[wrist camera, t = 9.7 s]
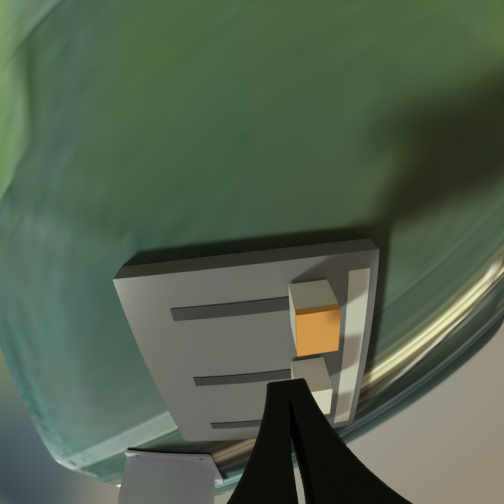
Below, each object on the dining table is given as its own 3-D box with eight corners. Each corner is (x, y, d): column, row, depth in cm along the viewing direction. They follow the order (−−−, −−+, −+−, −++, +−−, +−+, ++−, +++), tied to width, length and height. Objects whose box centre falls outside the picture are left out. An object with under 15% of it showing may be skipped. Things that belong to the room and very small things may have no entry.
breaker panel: (187, 427, 23) (182, 468, 19) (121, 266, 17) (92, 309, 13) (348, 411, 23) (360, 450, 19) (369, 237, 16) (402, 275, 12)
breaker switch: (290, 323, 16) (297, 356, 14) (288, 284, 15) (296, 315, 13) (326, 318, 16) (338, 350, 14) (327, 279, 15) (341, 309, 13)
